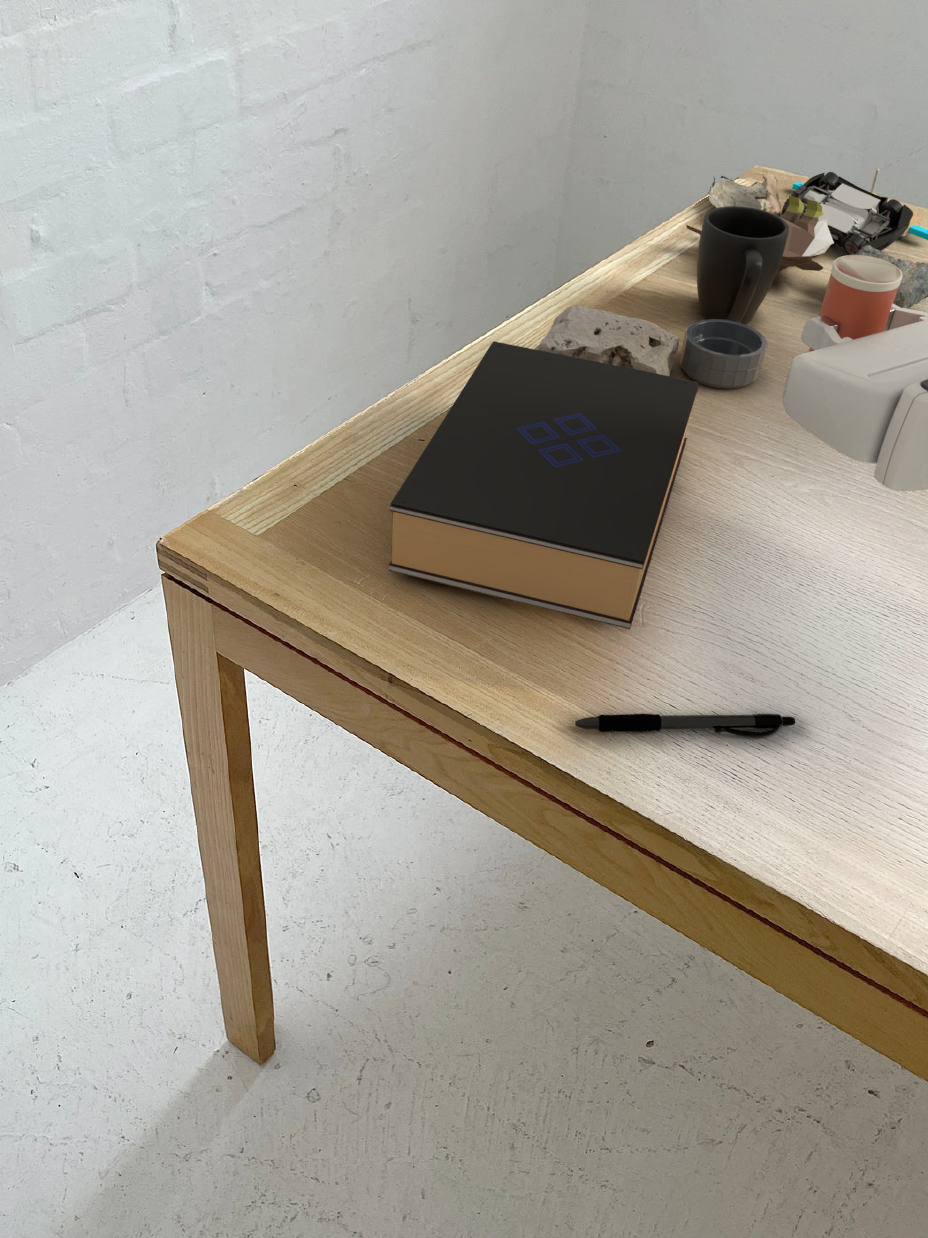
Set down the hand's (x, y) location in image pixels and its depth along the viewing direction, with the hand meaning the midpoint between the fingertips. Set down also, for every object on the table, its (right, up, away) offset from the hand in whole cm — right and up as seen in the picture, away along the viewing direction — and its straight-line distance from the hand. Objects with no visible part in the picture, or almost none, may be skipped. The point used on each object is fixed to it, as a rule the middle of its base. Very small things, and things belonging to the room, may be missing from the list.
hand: (840, 318), depth 78 cm
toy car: (+18, +26, +51) cm, 60 cm away
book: (-19, -12, +10) cm, 25 cm away
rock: (+18, +12, +42) cm, 47 cm away
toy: (+14, +26, +47) cm, 55 cm away
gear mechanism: (+18, +28, +55) cm, 65 cm away
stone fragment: (+6, +30, +56) cm, 64 cm away
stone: (-13, +2, +27) cm, 30 cm away
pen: (-12, -27, -8) cm, 31 cm away
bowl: (-2, +3, +28) cm, 28 cm away
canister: (0, -5, +3) cm, 6 cm away
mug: (+1, +9, +36) cm, 38 cm away
